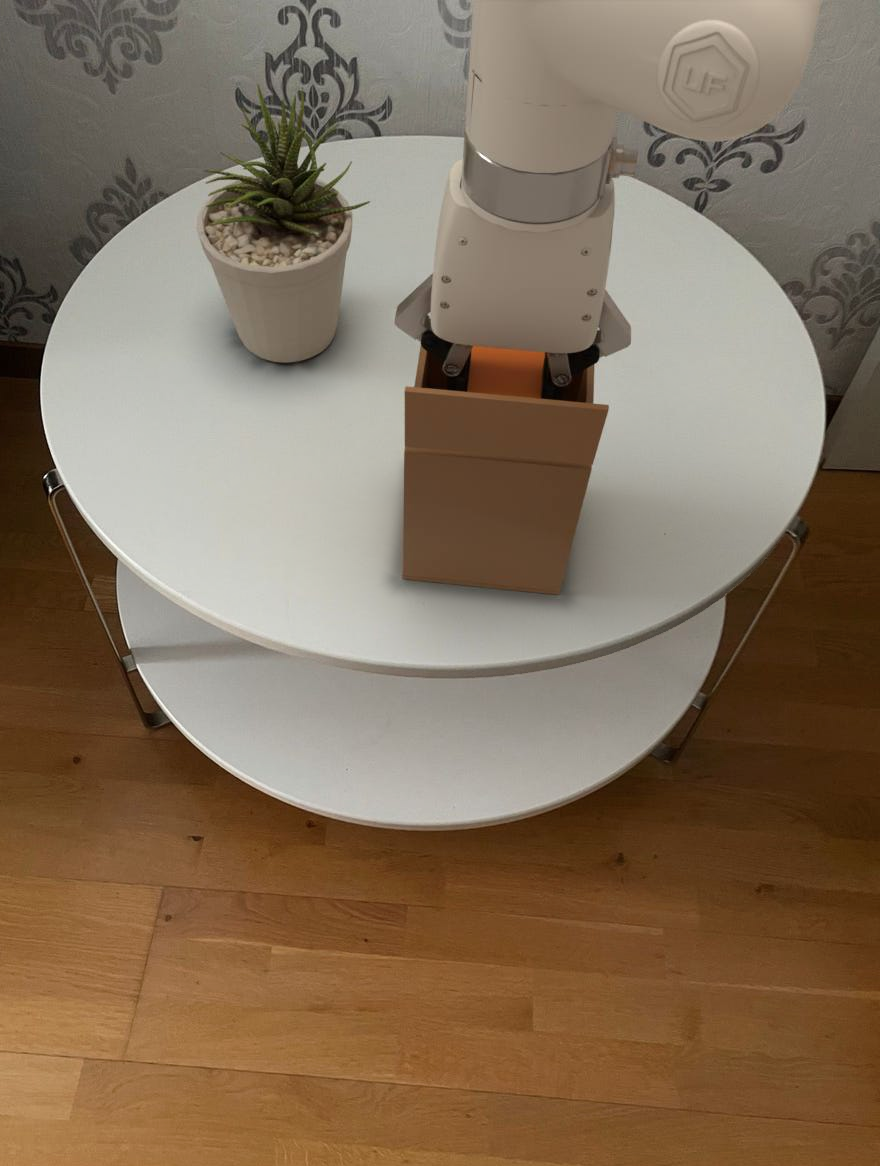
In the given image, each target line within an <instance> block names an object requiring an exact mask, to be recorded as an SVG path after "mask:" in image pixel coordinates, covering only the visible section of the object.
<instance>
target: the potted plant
mask: <svg viewBox="0 0 880 1166" xmlns="http://www.w3.org/2000/svg"><path fill="white" fill-rule="evenodd" d="M256 85H257V91H258V97H259V102H260V108H261V111H262V115H263V121H264V125H265V129H266V130H265V131H266V134H267V138H268V143H269V146H268V144H267V143H266V142H265V141H264V139H263V138H262V137H261V136H260V134H259V133H258V131H257V130H256V129H255V127H254V125H253V123H251V121H250V119H249V117H248V116H247V114H246V112H245V111H244V109H243V108H242V107H240V111H241V113H242V115H243V117H244V119H245V122H246V123H247V125H248V126H247V125H245V124H243V123H240V126H242V127H243V128H244V129H246V130H247V131H248V132H250V133H251V134H252V136H253V138H254V140H255V142H256V143H257V145H258V148H259V150H260V152H261V155H262V157H263V161H264V162H262V161H247V162H245V161H243V160H240V159H238V158H236V157H234V156H231V155H229V154H226V153H224V152H222V151H220V152H219V153H220V154H221V155H222V156H225V157H226V158H228V159H230V160H232V161H233V162H235V163H237V164H238V165H240V166H241V167H243V168H242V170H247V171H248V172H249V173H250V174H251V175H248V176H247V175H242V174H236V173H232V172H228V171H222V170H217V169H215V170H214V169H203V172H206V173H212V174H213V173H214V174H218V175H223V176H218V177H217V176H216V177H215V178H212V179H210V180H207V181H206V182H205V185H206V184H210V183H214V182H217V181H228V180H230V181H232V182H229V183H228V184H226V185H224V186H223V187H221V188H218V189H216V190H214V191H212V192H210V193H208V194H207V197H208V199H207V200H206V201H205V202H204V204H203V205H202V206H201V208H200V211H199V213H198V215H197V220H196V232H197V235H198V239H199V242H200V245H201V247H202V250H203V253H204V254H205V257H206V259H207V260H208V262H209V264H210V266H211V268H212V271H213V273H214V275H215V278H216V281H217V283H218V286H219V289H220V291H221V294H222V297H223V299H224V302H225V304H226V308H227V310H228V313H229V315H230V317H231V320H232V322H233V325H234V327H235V330H236V333H237V334H238V337H239V339H240V341H241V342H242V344H243V345H244V347H245V348H246V349H247V350H248V351H249V352H250V353H252V354H254V355H255V356H257V357H258V358H260V359H262V360H266V361H270V362H274V363H283V364H286V363H296V362H297V363H299V362H302V361H305V360H308V359H311V358H313V357H314V356H317V355H319V354H320V353H322V352H323V351H324V350H325V349H327V348H328V346H330V344H331V343H332V341H333V339H334V338H335V335H336V332H337V328H338V324H339V323H338V322H339V316H340V307H341V300H342V292H343V285H344V276H345V270H346V262H347V253H348V251H349V248H350V244H351V241H352V232H353V212H352V210H357V209H359V208H361V207H364V206H366V205H368V204H370V202H371V200H368V201H364V202H361V203H358V204H355V205H350V203H349V202H348V201H347V199H346V198H345V197H344V196H343V195H342V194H341V193H340V192H339V191H338V189H336V188H334V186H335V185H336V184H337V183H339V181H340V180H341V179H342V178H343V177H344V176H345V175H346V174H347V172H348V171H349V169H350V167H351V165H352V163H353V161H350V162H349V164H348V165H347V167H346V168H345V170H344V171H342V172H341V173H340V174H339V175H338V176H337V177H335V178H334V179H332V180H331V181H330V182H329V183H326V182H324V181H323V180H321V179H319V178H318V177H319V176H320V175H321V173H322V172H324V171H325V166H326V165H327V162H324V163H323V164H322V165H320V166H319V167H318V165H317V157H316V151H317V149H318V148H319V147H320V146H321V144H322V143H323V142H324V140H325V139H326V137H328V136H329V135H330V134H331V133H332V132H333V131H334V130H335V129H336V128H337V127H338V126H340V123H337V124H335V125H333V126H332V127H330V128H329V129H327V131H325V132H324V133H323V135H321V136H320V137H319V138H318V139H317V140H316V142H315V143H314V144H313V143H312V141H311V139H310V138H309V135H308V134H307V133H306V130H305V129H304V128H302V127H303V119H304V112H305V95H304V89H303V87H301V100H300V107H299V112H298V117H297V122H296V106H297V105H296V104H297V94H294V96H293V100H292V101H291V112H290V116H289V122H288V121H287V120H288V119H287V114H286V106H285V99H284V98H283V99H282V100H281V118H280V119H281V120H280V121H278V122H277V126H276V124H275V122H274V120H273V118H272V116H271V114H270V112H269V110H268V108H267V104H266V101H265V99H264V96H263V93H262V90H261V87H260V84H259V83H258V82H257V83H256ZM277 128H278V130H277ZM303 138H305V140H306V142H307V146H308V150H309V152H308V153H307V155H306V156H305V158H304V159H303V161H302V162H301V164H300V166H299V165H298V162H299V155H300V152H301V147H302V143H303ZM310 163H311V164H310ZM255 166H256V167H260V168H262V169H258V168H256V167H255ZM308 168H309V169H308Z"/></svg>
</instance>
